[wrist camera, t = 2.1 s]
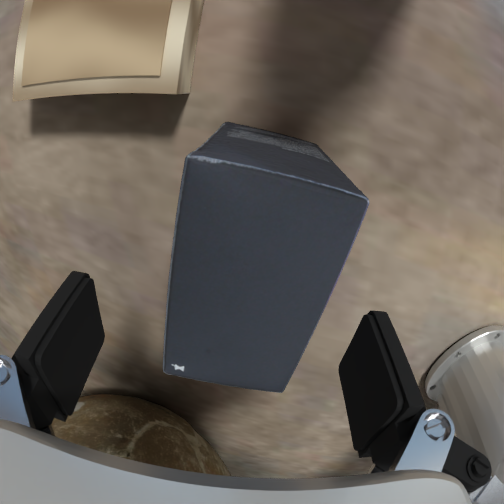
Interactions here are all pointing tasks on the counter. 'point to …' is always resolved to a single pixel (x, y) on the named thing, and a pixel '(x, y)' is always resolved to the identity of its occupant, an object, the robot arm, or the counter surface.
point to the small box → (254, 256)
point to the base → (105, 47)
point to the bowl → (138, 433)
